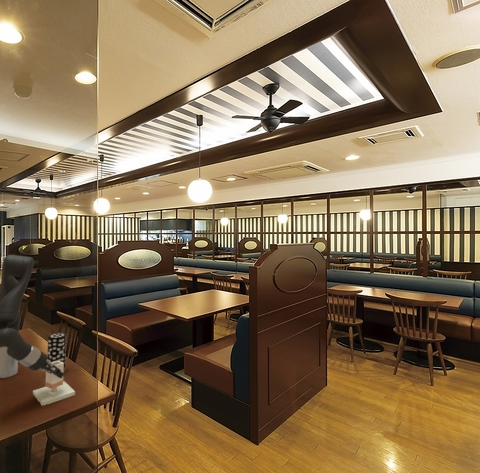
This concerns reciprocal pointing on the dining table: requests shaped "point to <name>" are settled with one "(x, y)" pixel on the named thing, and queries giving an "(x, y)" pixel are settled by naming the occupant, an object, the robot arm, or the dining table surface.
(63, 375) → the robot arm
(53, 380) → the sleeve
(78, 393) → the dining table surface
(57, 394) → the pin board
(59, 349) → the spotted tube
